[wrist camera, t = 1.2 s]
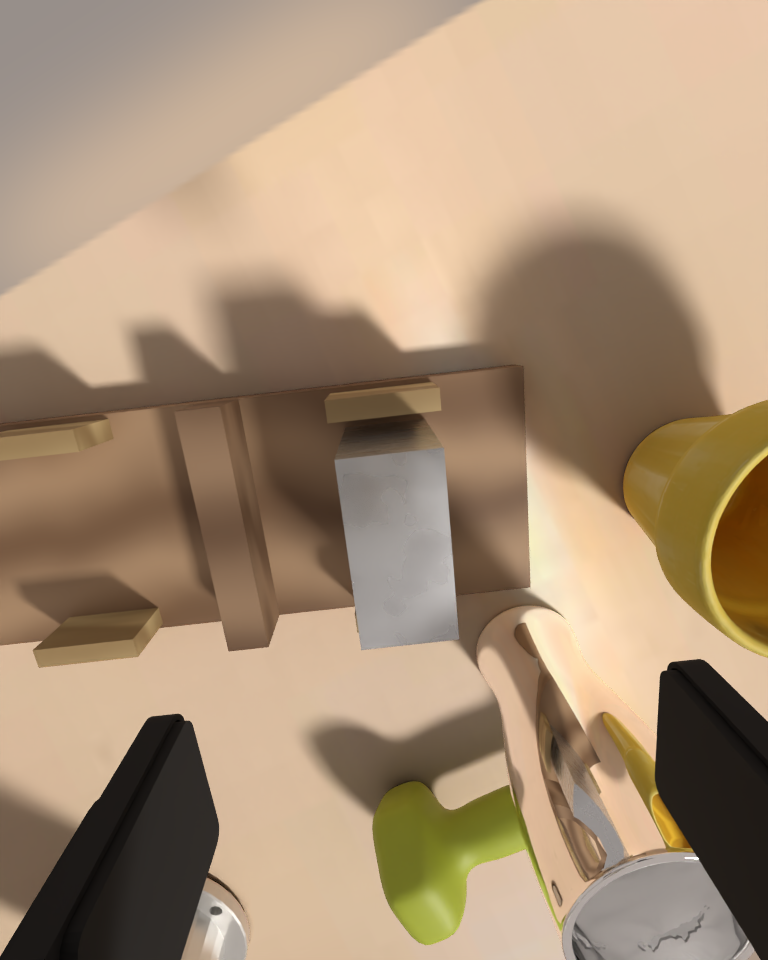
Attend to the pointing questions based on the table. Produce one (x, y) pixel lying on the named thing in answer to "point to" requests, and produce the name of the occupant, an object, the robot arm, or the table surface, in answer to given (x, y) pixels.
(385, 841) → the dumbbell
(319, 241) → the table surface
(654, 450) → the plant pot
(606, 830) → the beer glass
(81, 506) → the board
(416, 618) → the grey rectangular block
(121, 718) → the table surface
